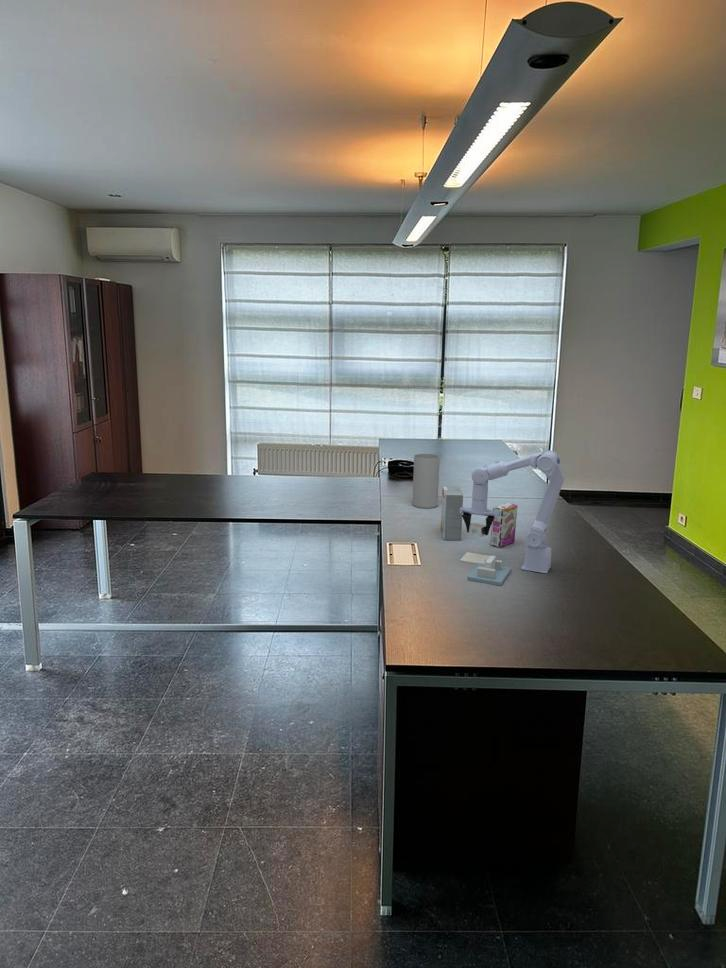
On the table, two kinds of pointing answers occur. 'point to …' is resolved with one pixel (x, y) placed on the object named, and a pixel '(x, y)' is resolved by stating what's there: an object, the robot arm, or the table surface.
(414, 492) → the cylinder vase
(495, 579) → the bench vise
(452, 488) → the hard drive box
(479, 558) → the cream mat
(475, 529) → the grey notched block
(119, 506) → the table surface
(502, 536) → the candy bar box
